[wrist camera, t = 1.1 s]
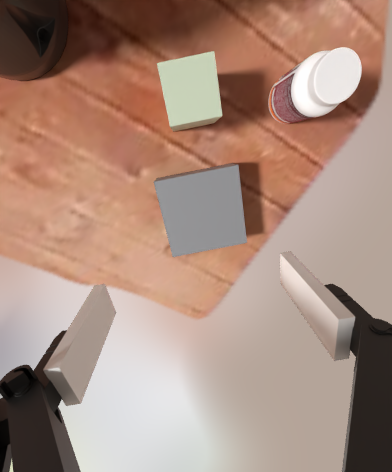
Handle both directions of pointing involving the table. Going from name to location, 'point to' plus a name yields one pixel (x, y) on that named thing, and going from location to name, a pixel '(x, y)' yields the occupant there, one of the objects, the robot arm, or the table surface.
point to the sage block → (191, 91)
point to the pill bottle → (315, 86)
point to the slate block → (202, 209)
